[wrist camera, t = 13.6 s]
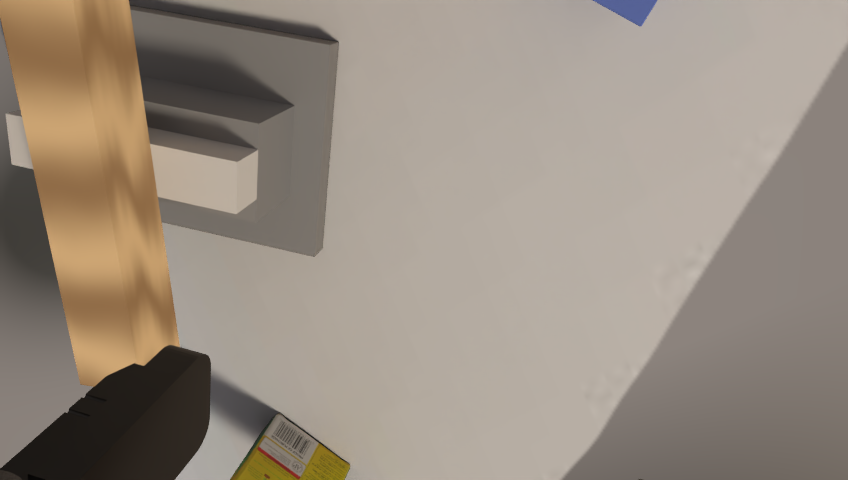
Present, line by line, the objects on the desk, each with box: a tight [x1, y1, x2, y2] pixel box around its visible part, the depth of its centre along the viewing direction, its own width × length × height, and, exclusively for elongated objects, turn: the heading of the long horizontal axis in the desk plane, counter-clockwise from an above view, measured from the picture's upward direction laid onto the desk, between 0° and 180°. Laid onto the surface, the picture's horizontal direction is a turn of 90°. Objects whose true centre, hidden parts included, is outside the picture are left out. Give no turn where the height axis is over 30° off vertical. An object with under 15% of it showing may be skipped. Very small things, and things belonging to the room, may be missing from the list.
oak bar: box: [0, 0, 180, 387], centre depth 36 cm, size 24×4×4 cm, turn 179°
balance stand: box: [6, 5, 339, 257], centre depth 42 cm, size 14×18×9 cm
